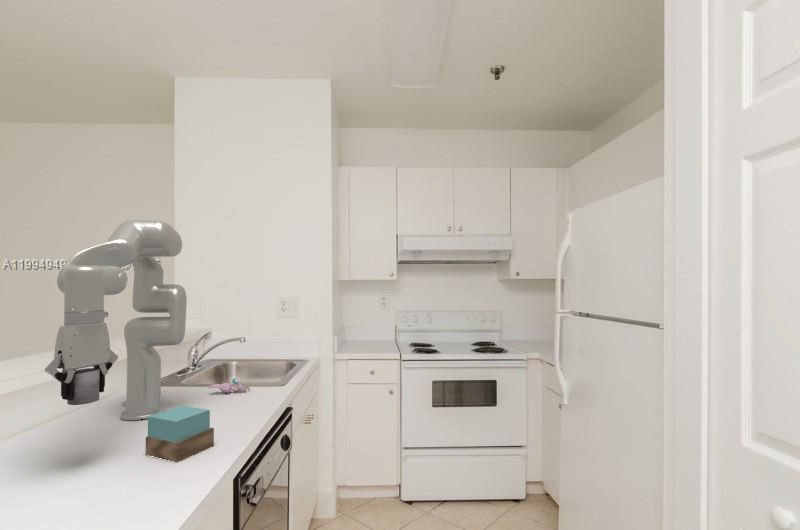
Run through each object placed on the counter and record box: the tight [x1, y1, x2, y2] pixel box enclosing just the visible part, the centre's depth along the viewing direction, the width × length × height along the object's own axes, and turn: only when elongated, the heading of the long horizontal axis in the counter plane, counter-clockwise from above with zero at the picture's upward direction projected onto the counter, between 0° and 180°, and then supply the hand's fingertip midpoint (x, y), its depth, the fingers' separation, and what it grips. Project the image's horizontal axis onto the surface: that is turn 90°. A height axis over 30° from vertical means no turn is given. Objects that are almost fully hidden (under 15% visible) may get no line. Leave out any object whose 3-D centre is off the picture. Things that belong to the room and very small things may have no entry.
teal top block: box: [147, 405, 211, 443], centre depth 108 cm, size 10×10×5 cm
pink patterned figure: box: [208, 377, 251, 394], centre depth 164 cm, size 6×6×15 cm
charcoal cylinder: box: [66, 367, 100, 406], centre depth 99 cm, size 6×6×7 cm
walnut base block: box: [144, 427, 215, 463], centre depth 108 cm, size 11×11×5 cm
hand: (83, 394), depth 99 cm, fingers closed on charcoal cylinder, 6 cm apart
